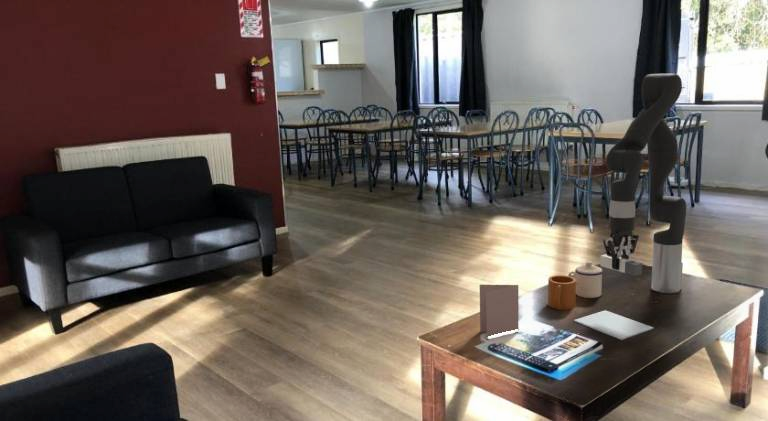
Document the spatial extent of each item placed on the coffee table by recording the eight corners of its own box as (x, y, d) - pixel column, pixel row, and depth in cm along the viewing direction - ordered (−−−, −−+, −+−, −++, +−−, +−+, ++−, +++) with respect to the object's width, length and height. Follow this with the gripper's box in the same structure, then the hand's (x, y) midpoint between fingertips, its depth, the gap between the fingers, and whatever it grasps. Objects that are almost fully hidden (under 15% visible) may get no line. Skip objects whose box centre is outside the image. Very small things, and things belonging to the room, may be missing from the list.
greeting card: (518, 331, 192) (518, 284, 189) (519, 341, 185) (519, 292, 182) (480, 330, 194) (479, 283, 191) (479, 340, 187) (479, 291, 184)
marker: (597, 265, 204) (598, 254, 203) (605, 263, 205) (605, 253, 205) (634, 275, 192) (634, 265, 191) (642, 273, 193) (642, 263, 193)
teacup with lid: (606, 293, 222) (607, 260, 219) (595, 300, 215) (596, 267, 213) (573, 286, 230) (574, 255, 227) (562, 293, 223) (562, 261, 221)
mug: (539, 309, 209) (539, 283, 207) (554, 298, 218) (554, 273, 217) (565, 314, 204) (565, 287, 202) (579, 303, 213) (580, 277, 211)
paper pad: (605, 311, 205) (605, 310, 205) (653, 328, 190) (653, 327, 189) (574, 321, 198) (574, 319, 198) (621, 339, 183) (621, 338, 183)
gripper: (627, 209, 201) (625, 262, 205) (596, 215, 195) (594, 269, 198) (647, 213, 195) (645, 267, 198) (616, 219, 188) (614, 275, 192)
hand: (620, 268), depth 198 cm, fingers closed on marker, 3 cm apart
